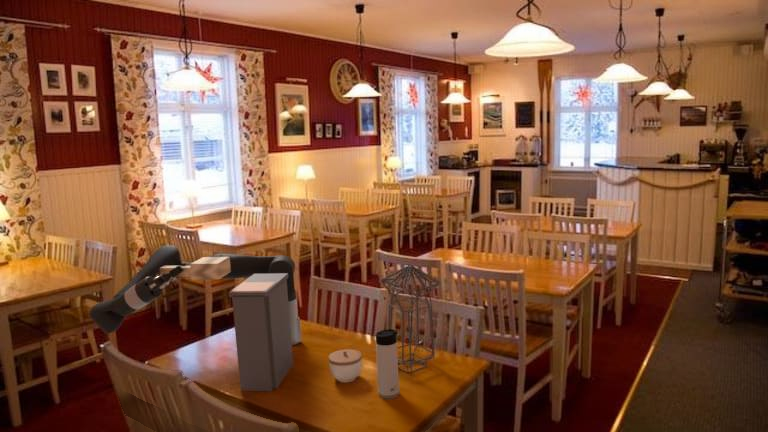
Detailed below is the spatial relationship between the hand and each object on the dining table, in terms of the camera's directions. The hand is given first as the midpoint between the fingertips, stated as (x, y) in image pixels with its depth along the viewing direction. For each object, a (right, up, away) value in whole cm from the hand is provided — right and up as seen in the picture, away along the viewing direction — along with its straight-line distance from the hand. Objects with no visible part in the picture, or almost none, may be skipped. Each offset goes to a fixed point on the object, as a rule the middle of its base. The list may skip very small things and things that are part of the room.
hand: (183, 266), depth 184 cm
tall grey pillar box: (+25, -37, +8) cm, 45 cm away
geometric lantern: (+73, -34, +10) cm, 82 cm away
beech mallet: (+3, -3, 0) cm, 4 cm away
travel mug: (+65, -38, -9) cm, 76 cm away
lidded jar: (+52, -37, +3) cm, 63 cm away
